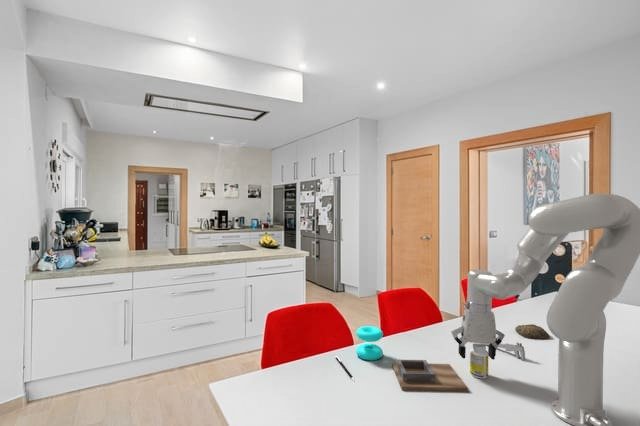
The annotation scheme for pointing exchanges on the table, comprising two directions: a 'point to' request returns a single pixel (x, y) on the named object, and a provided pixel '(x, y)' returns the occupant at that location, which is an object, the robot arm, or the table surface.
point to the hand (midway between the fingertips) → (476, 357)
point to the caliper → (513, 349)
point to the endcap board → (427, 376)
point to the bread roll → (532, 332)
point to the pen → (344, 368)
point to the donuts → (368, 349)
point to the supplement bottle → (479, 361)
